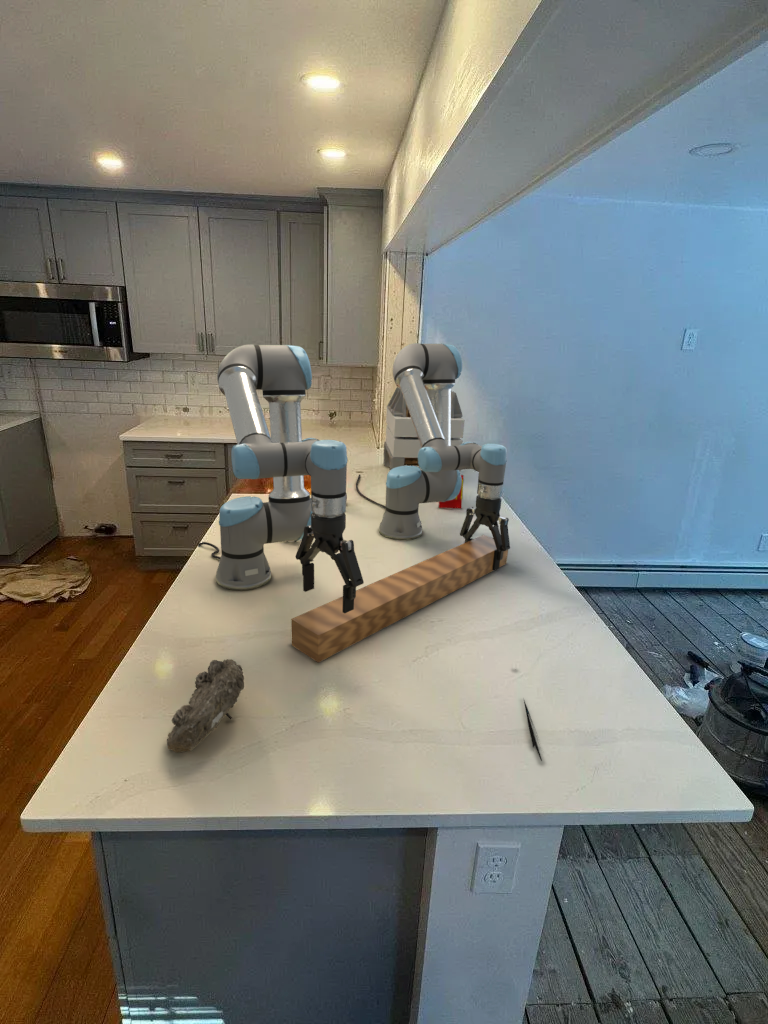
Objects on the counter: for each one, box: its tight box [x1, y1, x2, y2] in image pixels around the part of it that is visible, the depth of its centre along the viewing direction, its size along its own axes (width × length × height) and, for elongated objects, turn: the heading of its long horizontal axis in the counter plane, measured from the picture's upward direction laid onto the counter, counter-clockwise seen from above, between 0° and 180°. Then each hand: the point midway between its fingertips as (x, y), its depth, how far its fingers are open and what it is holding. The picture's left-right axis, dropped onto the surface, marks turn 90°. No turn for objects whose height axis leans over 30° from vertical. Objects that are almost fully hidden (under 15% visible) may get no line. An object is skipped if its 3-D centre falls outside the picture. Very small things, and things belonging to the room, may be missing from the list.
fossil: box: [166, 658, 245, 754], centre depth 106 cm, size 22×10×15 cm
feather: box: [514, 668, 543, 762], centre depth 113 cm, size 2×28×2 cm
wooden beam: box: [290, 534, 509, 664], centre depth 155 cm, size 78×10×7 cm, turn 137°
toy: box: [438, 474, 465, 510], centre depth 239 cm, size 12×13×30 cm
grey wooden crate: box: [383, 386, 465, 475], centre depth 268 cm, size 34×33×41 cm
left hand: (327, 600), depth 130 cm, fingers open, 13 cm apart
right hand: (481, 563), depth 178 cm, fingers closed on wooden beam, 10 cm apart
